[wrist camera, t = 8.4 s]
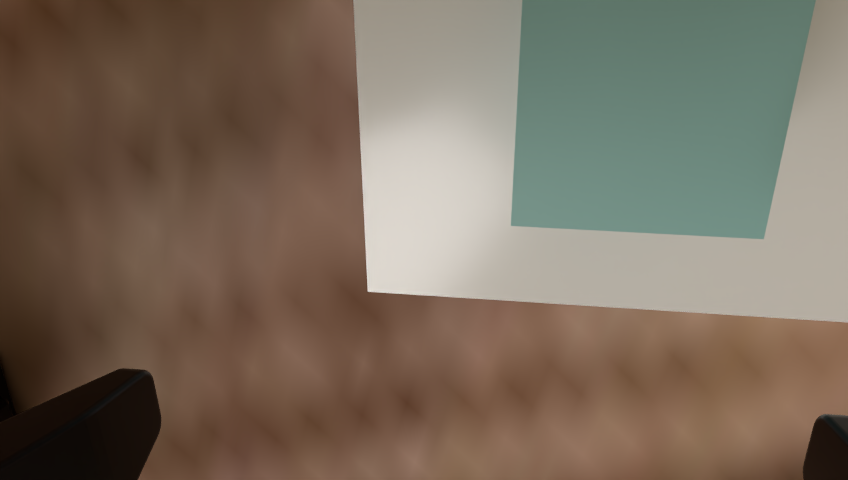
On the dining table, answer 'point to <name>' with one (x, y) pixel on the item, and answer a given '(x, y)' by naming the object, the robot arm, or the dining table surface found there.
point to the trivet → (571, 248)
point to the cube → (654, 113)
